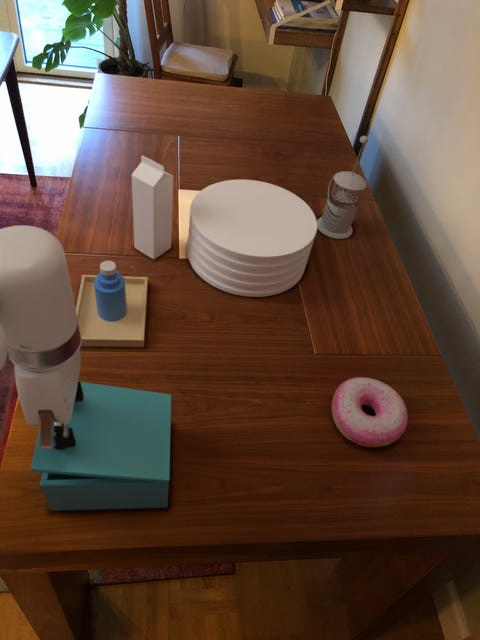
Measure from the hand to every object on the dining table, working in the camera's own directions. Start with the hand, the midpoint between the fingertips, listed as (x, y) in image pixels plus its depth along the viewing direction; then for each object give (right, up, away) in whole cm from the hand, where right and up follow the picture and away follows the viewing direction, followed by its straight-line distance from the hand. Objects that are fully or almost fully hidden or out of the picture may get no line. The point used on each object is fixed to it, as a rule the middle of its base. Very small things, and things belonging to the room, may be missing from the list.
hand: (67, 420), depth 63 cm
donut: (+45, -4, +23) cm, 51 cm away
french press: (+47, +38, +62) cm, 87 cm away
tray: (-3, +15, +31) cm, 35 cm away
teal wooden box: (+3, -9, +11) cm, 14 cm away
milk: (+3, +30, +46) cm, 55 cm away
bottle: (-2, +15, +31) cm, 35 cm away
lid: (+5, -2, +3) cm, 6 cm away
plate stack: (+25, +29, +49) cm, 62 cm away
